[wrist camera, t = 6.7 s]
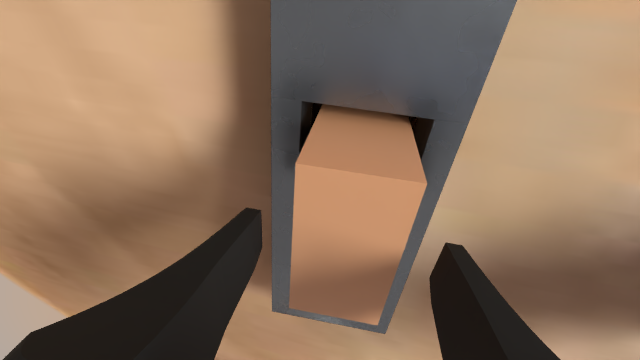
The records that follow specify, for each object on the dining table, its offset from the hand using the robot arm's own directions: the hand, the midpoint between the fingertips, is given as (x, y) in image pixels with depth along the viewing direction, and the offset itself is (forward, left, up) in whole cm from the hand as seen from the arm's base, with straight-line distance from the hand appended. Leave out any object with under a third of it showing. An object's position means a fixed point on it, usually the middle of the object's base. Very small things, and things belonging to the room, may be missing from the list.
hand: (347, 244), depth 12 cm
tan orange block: (0, 0, -6) cm, 6 cm away
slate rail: (0, 0, -6) cm, 6 cm away
